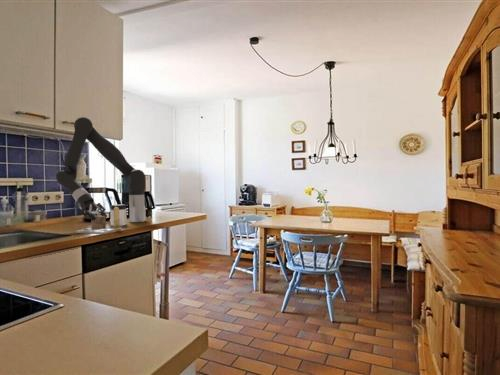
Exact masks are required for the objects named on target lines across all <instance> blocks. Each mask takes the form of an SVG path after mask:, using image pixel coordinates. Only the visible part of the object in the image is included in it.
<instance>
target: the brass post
mask: <svg viewBox="0 0 500 375" xmlns="http://www.w3.org/2000/svg"><path fill="white" fill-rule="evenodd" d="M111 229H114V231H120V230H122V227H121V226H120V222H119V208H118V207H115V208H114V226H113V227H112V228H111Z"/></svg>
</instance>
